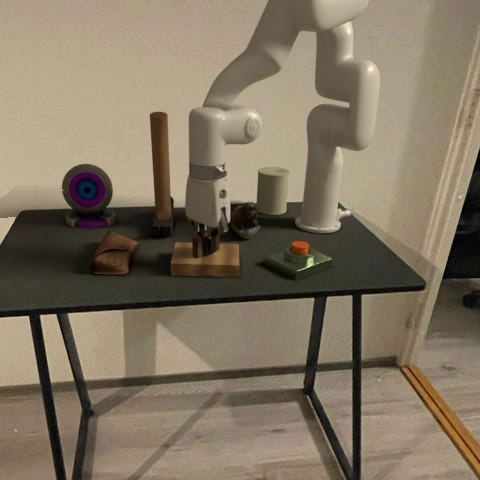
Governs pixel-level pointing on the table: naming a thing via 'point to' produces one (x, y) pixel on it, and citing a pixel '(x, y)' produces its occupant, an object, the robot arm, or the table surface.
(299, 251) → the button
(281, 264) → the button box
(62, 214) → the table surface
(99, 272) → the sunglasses case
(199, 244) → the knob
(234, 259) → the light wood flat block
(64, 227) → the table surface
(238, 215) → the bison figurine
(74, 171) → the webcam
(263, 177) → the can
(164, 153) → the hammer
